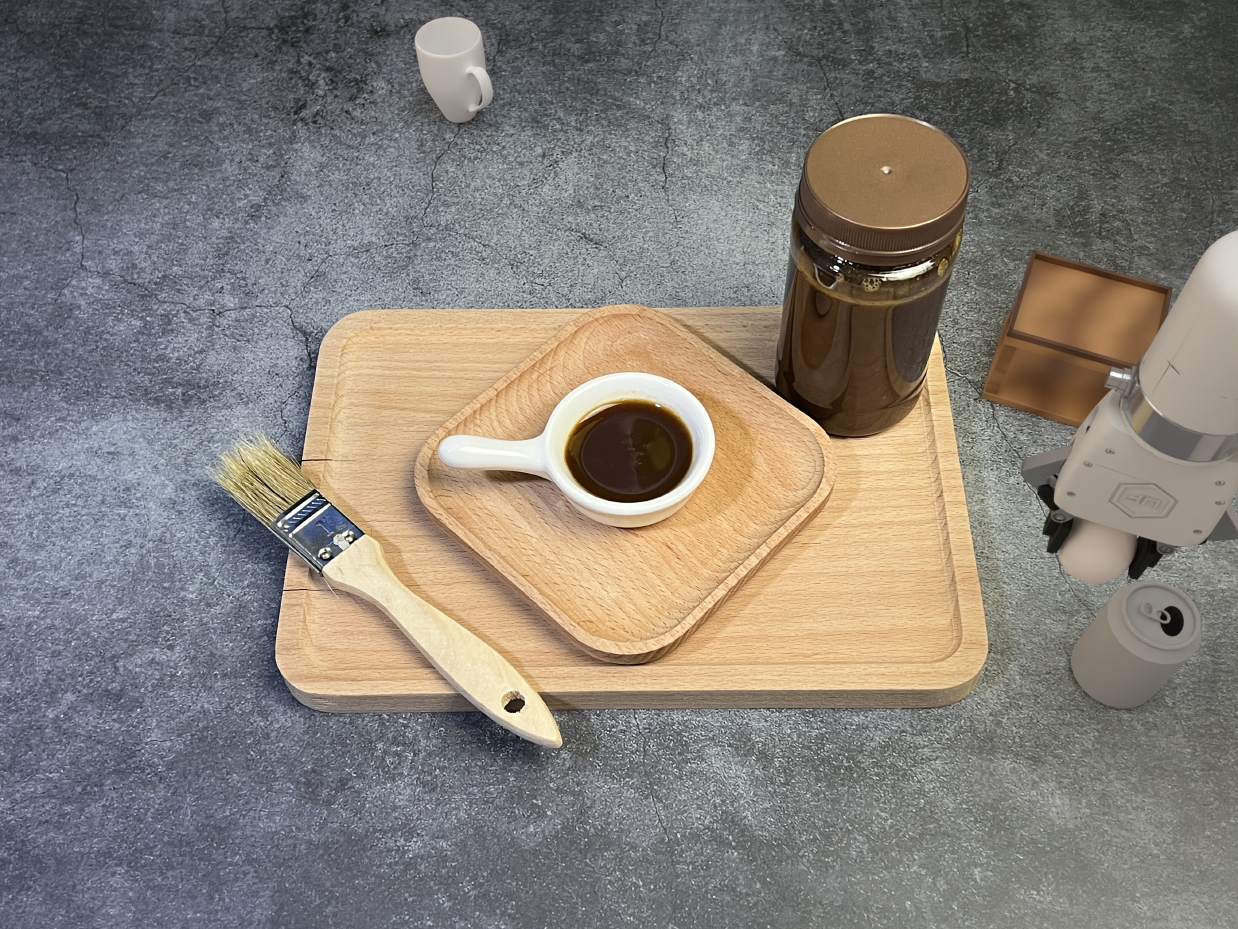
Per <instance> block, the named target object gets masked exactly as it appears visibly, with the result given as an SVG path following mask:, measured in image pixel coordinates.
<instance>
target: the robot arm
mask: <svg viewBox="0 0 1238 929" xmlns="http://www.w3.org/2000/svg"><path fill="white" fill-rule="evenodd" d="M1169 310H1170V311H1168V315H1167V317H1166V319H1165V321H1164V323H1163V324H1162V326H1161V328H1160V330H1159V331H1158V333H1157V335H1156V337H1155V338H1154V340H1153V342H1152V344H1151V345H1150V347H1149V349H1148V350H1147V352H1146V354H1145V356H1141V357H1140V358H1139V360H1138V362H1137V364H1136V365H1135V366H1132V367H1131V368H1129V369H1127V368H1123V369H1119V368H1115V367H1110V369H1109V370H1108V373H1107V375H1106V378H1105V382H1104V387H1108V388H1111V389H1112V390H1111V391H1110V392H1109V393H1108V394H1107V395H1106V396H1105V397H1104V398H1103V399H1102V400H1101V401H1100V402H1099V403H1098V404H1097V405H1096V406H1095V408H1094V409H1093V410H1092V411H1091V412H1090V414H1089V415H1088V416H1087V417H1086V419H1085V420H1084V422H1083V423H1082V424H1081V426H1080V427H1079V428H1077V430H1076V432H1075V433H1074V434H1073V436H1072V437H1071V439H1070V441H1069V442H1068V444H1067V445H1066V446H1063V447H1059V448H1056V449H1051V450H1048V451H1045V452H1041V453H1038V454H1033V455H1030V456H1027V457H1024V458H1023V460H1022V463H1021V467H1020V471H1019V475H1020V476H1021V477H1022V479H1023V480H1024V481H1026V482H1027V483H1028V485H1029V486H1030V487H1031V488H1033V489H1035V490H1036V495H1037V497H1038V498H1039V499H1040V500H1041V501H1042V502H1043V503H1044V505H1045V507H1047V508H1048V509H1049V512H1048V514H1047V516H1046V518H1045V521H1044V524H1043V526H1042V532H1041V535H1044V536H1047V537H1048V541H1047V545H1046V551H1045V552H1046V553H1048V554H1050V555H1054V554H1057V553H1058V550H1059V549H1060V547H1061V545H1062V544H1063V542H1064V540H1065V539H1066V537H1067V536H1068V534H1069V532H1070V531H1071V528H1072V524H1073V519H1074V517H1075V516H1077V517H1079V518H1082V519H1086V520H1089V521H1092V522H1095V523H1098V524H1101V525H1105V526H1108V527H1111V528H1114V529H1118V530H1121V531H1124V532H1127V533H1131V534H1134V535H1137V550H1136V554H1135V557H1134V559H1133V561H1132V562H1131V564H1130V566H1129V567H1128V569H1127V576H1128V577H1129V579H1130V580H1131V579H1132V580H1135V581H1138V580H1139V579H1140V578H1141V576H1142V575H1143V574H1144V572H1145V571H1146V570H1147V568H1151V569H1155V567H1156V566H1157V565H1158V563H1159V562H1160V561H1161V559H1162V558H1163V556H1172V555H1174V554H1175V553H1176V549H1180V548H1190V547H1196V546H1203V545H1205V544H1207V542H1208V541H1211V542H1222V541H1234V540H1238V512H1237V510H1236V508H1235V506H1234V504H1233V503H1232V500H1233V499H1234V497H1235V495H1236V493H1237V491H1238V229H1237V230H1234V231H1232V232H1229V233H1227V234H1225V235H1223V236H1221V237H1219V238H1218V239H1217V240H1216V241H1214V242H1213V243H1212V244H1211V245H1210V246H1209V247H1207V249H1206V250H1204V253H1203V254H1202V256H1201V257H1200V259H1199V260H1198V261H1197V263H1196V265H1195V266H1194V268H1193V270H1192V272H1191V274H1190V276H1189V277H1188V279H1187V280H1186V282H1185V284H1184V286H1183V288H1182V289H1181V291H1180V293H1179V294H1178V297H1177V298H1176V300H1175V302H1174V303H1173V305H1172V307H1171V309H1169ZM1120 397H1121V398H1120Z"/></svg>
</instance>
